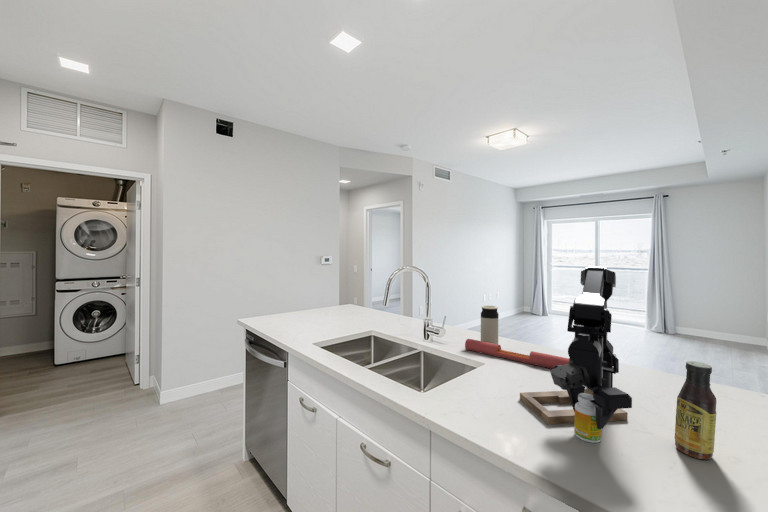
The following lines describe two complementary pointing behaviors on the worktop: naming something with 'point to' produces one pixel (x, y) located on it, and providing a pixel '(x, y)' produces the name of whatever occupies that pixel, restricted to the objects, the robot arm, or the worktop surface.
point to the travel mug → (489, 324)
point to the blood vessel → (516, 354)
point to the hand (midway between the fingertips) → (587, 419)
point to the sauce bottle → (696, 413)
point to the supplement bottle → (586, 419)
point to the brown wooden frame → (558, 415)
